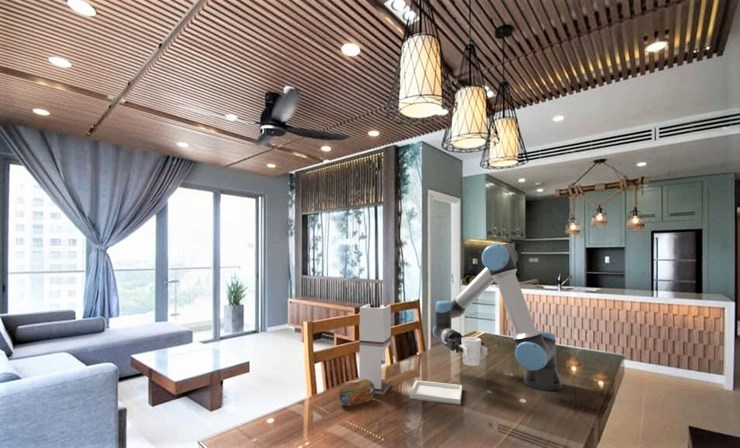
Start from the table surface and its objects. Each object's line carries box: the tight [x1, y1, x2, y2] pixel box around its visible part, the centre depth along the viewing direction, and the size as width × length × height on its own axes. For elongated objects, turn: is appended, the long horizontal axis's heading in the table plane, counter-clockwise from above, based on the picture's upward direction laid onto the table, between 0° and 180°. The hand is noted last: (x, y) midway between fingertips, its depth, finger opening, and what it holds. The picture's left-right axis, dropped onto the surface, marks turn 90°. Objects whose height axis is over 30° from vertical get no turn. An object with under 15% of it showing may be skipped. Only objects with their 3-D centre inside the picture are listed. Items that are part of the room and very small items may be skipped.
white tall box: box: [358, 303, 392, 396], centre depth 158 cm, size 11×11×35 cm
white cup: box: [461, 336, 482, 367], centre depth 151 cm, size 8×8×10 cm
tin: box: [337, 379, 375, 407], centre depth 142 cm, size 15×3×8 cm, turn 118°
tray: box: [408, 379, 463, 406], centre depth 151 cm, size 20×16×2 cm
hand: (477, 351), depth 146 cm, fingers closed on white cup, 7 cm apart
